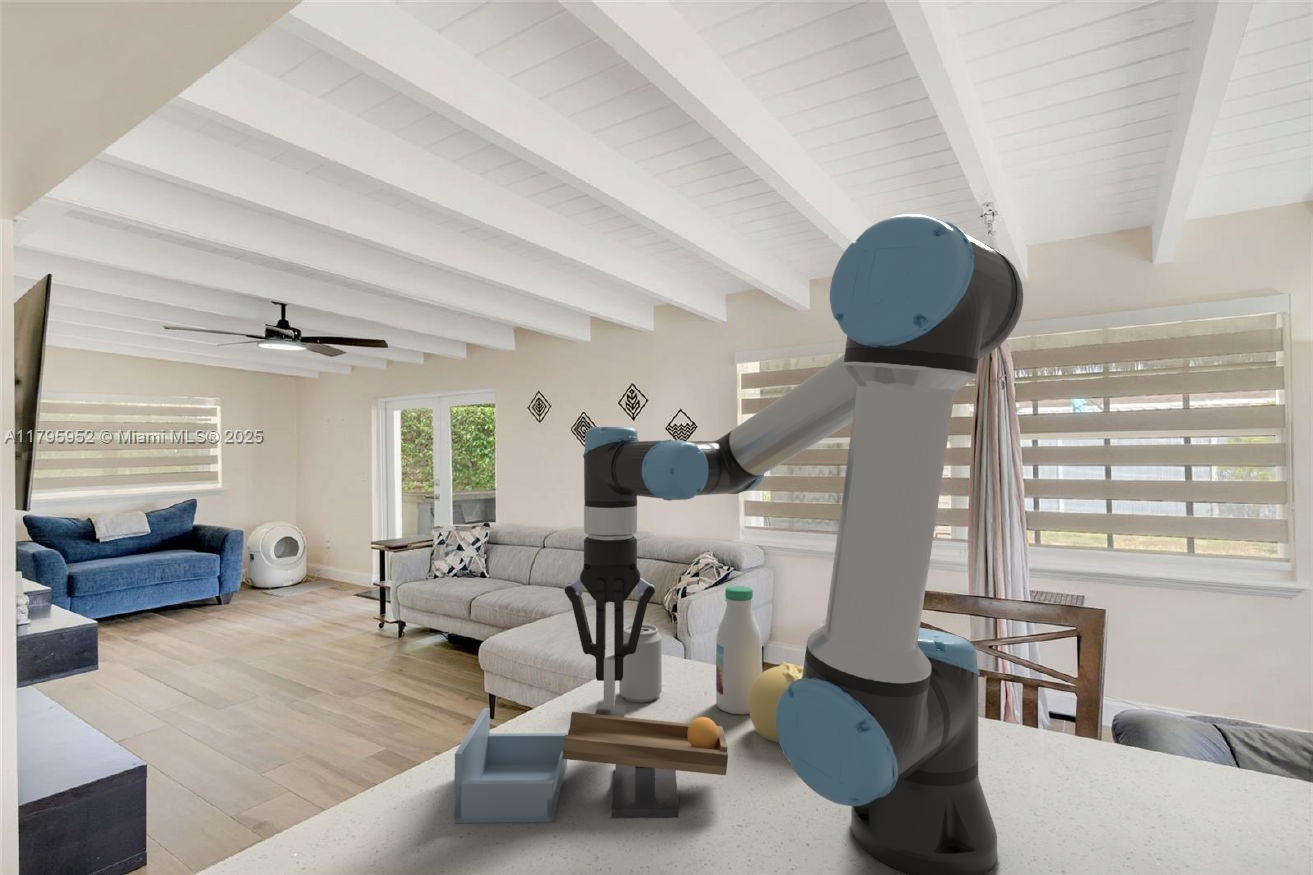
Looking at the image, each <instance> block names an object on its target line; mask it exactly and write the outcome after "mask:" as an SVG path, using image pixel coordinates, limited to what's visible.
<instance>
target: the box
mask: <svg viewBox="0 0 1313 875" xmlns="http://www.w3.org/2000/svg"><path fill="white" fill-rule="evenodd" d="M490 713H491V708H490V707H484V708H482V710H481V712H479V715H478V717H477V718H476V720H475V721H474V722H473V725H472V726H471V728H470V729H469V731H468V733H467V734H466V736H465V737H464V738H463V740H462V741H461V743H460V745H459V746H458V748H457V750H455V753H454V818H453V819H454V820H453V821H454V824H479V823H480V824H489V823H490V824H491V823H492V824H494V823H495V824H498V823H502V824H504V823H510V824H511V823H517V824H518V823H519V824H520V823H522V824H523V823H530V824H531V823H535V824H536V823H553V821H554V818H555V813H556V810H557V806H558V802H559V798H560V795H561V790H562V787H563V783H564V779H565V775H566V772H567V771H566V770H567V769H568V768H567V767H568V759H562V755H563V746H564V738H565V735H568V732H567V733H566V732H562V733H561V732H560V733H559V732H551V733H550V732H548V733H546V732H545V733H543V732H542V733H540V732H537V733H533V732H532V733H530V732H529V733H528V732H527V733H526V732H525V733H521V732H520V733H518V732H517V733H514V732H513V733H507V732H505V733H502V732H501V733H491V732H490V731H491V730H490V728H491V727H490V726H491V724H490V723H491V717H490V716H491V714H490Z"/></svg>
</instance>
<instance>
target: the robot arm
mask: <svg viewBox="0 0 1313 875" xmlns="http://www.w3.org/2000/svg"><path fill="white" fill-rule="evenodd" d="M829 288H830V289H829V303H830V304H829V305H830V310H831V313H832V316H833V318H834V319H835V320H836V321H837V324H838V325H839V329H841V331H842V332H843V334H845V335H846V342H845V349H844V350H845V351H844V354H843V355H841V356H840V357H838V358H836V359H835V360H834V361H832V362H831V363H829V364H828V365H826V366H825V367H823V368H822V369H821V370H819V371H817V372H816V373H815V374H813V375H811V376H810V377H808V378H807V379H806V380H804V381H802V382H801V383H799V384H798V385H797V386H795V387H794V388H793V389H791V390H789V391H788V392H786V393H784V395H782V396H780V397H778V398H777V399H775V401H772V402H771V403H770V404H769V405H767V406H766V407H764V408H762V409H761V410H760V411H758V412H757V413H755V414H754V415H753V416H751V417H750V418H748V419H747V420H745V421H743V422H742V423H740V424H739V425H737V426H736V427H735V428H734V429H732V430H730V431H729V432H728V433H726V434H724V435H723V436H721V437H719V438H718V439H715V440H711V441H709V440H706V441H705V440H702V441H701V440H697V441H694V440H692V441H691V440H680V439H674V440H673V439H665V440H643V441H642V440H641V441H640V440H639V439H638V438H639V436H638V432H637V429H636V428H634V427H631V426H592V427H590V428H589V429H587V431H586V433H585V437H584V452H583V454H582V457H583V476H584V477H583V480H584V481H583V482H584V483H583V485H584V486H583V487H584V488H583V490H584V493H583V496H584V497H583V498H584V505H583V532H584V534H586V535H587V536H586V537H585V538H584V539H583V568H582V570H581V572H580V575H579V578H578V579H577V580H575V581H573V582H568V583H567V584H566V586H565V588H564V593H565V594H566V597H567V598H568V600H569V601H570V603H571V606H572V610H573V615H574V618H575V622H576V627H577V631H578V635H579V639H580V644H581V649H582V651H583V654H585V655H590V656H593V657H594V658H595V679H596V681H598V682H602V681H603V703H604V707H614V705H615V704H616V682H617V681H618V682H619V681H622V678H623V659H624V657H625V656H626V655H629V654H634V653H635V651H636V648H637V644H638V640H639V636H640V632H641V627H642V624H644V619H645V616H646V610H647V606H648V603H649V602H650V600H651V599H652V597H653V596H654V594H655V591H656V587H655V584H654V583H652V582H647V581H646V580H645V579H643V578H642V577H641V573H640V571H639V569H638V539H637V538H636V537H635V536H634V535H635V534H636V533H637V531H638V497H643V498H644V497H647V498H653V499H662V500H664V501H670V502H671V501H685V500H690V499H693V498H694V497H697V496H705V495H706V496H707V495H709V496H711V495H726V494H728V495H738V494H741V493H744V492H748V491H752V490H754V489H756V487H758V486H759V485H760V484H761V482H762V480H763V478H764V476H765V474H767V473H768V472H769V471H771V470H773V469H775V468H776V467H778V466H780V465H781V464H783V463H785V462H786V461H788V460H790V459H791V458H793V457H795V456H796V455H799V454H801V453H802V452H804V451H805V450H807V449H809V448H811V447H812V446H814V445H816V444H818V443H820V442H821V441H823V440H825V439H826V438H828V437H830V436H832V434H834V433H836V432H838V431H840V430H842V429H843V428H845V427H847V426H849V425H850V424H851V429H850V430H851V431H850V439H849V447H848V454H847V459H846V460H847V461H846V468H845V475H844V476H845V477H844V483H843V490H842V498H841V506H840V514H839V522H838V527H837V537H836V541H835V542H836V543H835V551H834V558H833V564H832V565H833V566H832V572H831V581H830V588H829V594H828V602H827V611H826V617H825V623H824V625H822V626H820V627H819V628H817V629H815V631H813V632H811V633H810V634H809V635H808V637H807V640H806V647H805V654H804V655H805V656H804V662H803V667H804V668H803V675H802V678H801V679H797V680H796V681H795V682H793V683H792V684H790V685H789V686H788V687H787V689H786V690H785V691H784V692H783V693H782V695H781V696H780V699H779V701H778V704H777V708H776V716H775V721H776V730H777V735H778V739H779V742H778V743H779V744H780V747H781V750H782V752H783V754H784V756H785V757H786V758H787V759H788V761H789V762H790V764H791V768H792V770H793V771H794V773H795V774H796V775H797V776H798V777H799V779H800V780H802V781H803V783H804V784H805V785H806V786H807V787H808V788H809V789H811V791H813V792H815V793H816V794H817V795H819V796H820V797H821V798H823V799H826V800H828V801H829V802H832V803H834V804H838V805H842V806H847V807H851V815H850V816H851V818H850V819H851V821H850V823H851V826H850V827H851V831H852V834H853V836H854V839H855V840H856V841H857V843H858V844H859V845H860V846H861V848H863V849H864V850H865V851H866V852H867V853H868V854H870V855H871V856H873V858H875V859H877V860H879V861H880V862H882V863H884V864H886V865H888V866H890V867H891V868H893V869H896V870H899V871H901V872H904V873H908V874H910V875H984V874H986V873H988V872H989V871H990V870H991V869H992V868H993V867H995V865H996V863H997V860H998V835H997V834H998V833H997V829H996V826H995V824H994V820H993V817H992V815H991V811H990V809H989V808H990V807H989V805H988V802H987V799H986V797H985V794H984V789H983V788H982V784H981V781H980V776H979V677H980V674H981V672H980V670H979V669H978V668H979V666H978V655H977V650H976V648H975V646H974V645H973V643H971V642H970V641H969V640H968V639H965V638H964V637H961V636H958V635H955V634H953V633H948V632H944V631H941V630H934V629H930V628H923V627H921V620H922V614H923V608H924V601H925V596H926V589H927V581H928V574H929V568H930V560H931V553H932V547H933V543H934V542H933V541H934V535H935V527H936V521H937V520H936V519H937V515H938V508H939V502H940V494H941V488H942V487H941V486H942V481H943V474H944V468H945V460H946V454H947V449H948V448H947V447H948V440H949V435H950V428H951V420H952V416H953V415H952V414H953V413H952V412H953V408H954V401H955V395H957V393H958V392H959V391H960V390H961V389H962V388H964V387H965V386H966V385H968V384H969V383H971V382H973V380H975V379H976V377H977V374H978V373H977V372H978V366H979V361H981V359H983V358H984V357H986V356H988V355H989V354H991V353H992V352H993V351H995V350H996V349H997V348H999V347H1000V346H1001V345H1002V344H1003V343H1004V342H1005V341H1006V340H1007V339H1008V337H1009V336H1010V335H1011V334H1012V332H1013V330H1015V328H1016V325H1017V323H1018V321H1019V319H1020V318H1021V314H1022V310H1023V305H1024V288H1023V284H1022V280H1021V277H1020V275H1019V272H1018V270H1017V268H1016V267H1015V264H1013V263H1012V262H1011V260H1009V258H1008V257H1006V256H1005V255H1004V254H1003V253H1001V251H998V250H997V249H994V248H993V247H992V246H990V245H987V244H984V243H982V242H980V241H979V240H976V239H975V238H973V237H972V236H969V235H967V234H965V232H964V231H963V230H962V229H961V228H959V227H958V226H956V225H955V224H953V223H951V222H949V221H945V220H942V219H937V218H934V217H930V216H927V215H923V214H913V213H911V214H910V213H907V214H899V215H895V216H891V217H888V218H886V219H882V220H880V221H878V222H877V223H876V222H875V224H872V225H871V226H870V227H868V228H867V229H866V230H864V231H863V232H862V233H861V234H860V236H858V237H857V239H856V240H855V241H852V242H851V243H850V244H849V245H848V247H847V248H846V249H845V251H844V252H843V253H842V254H841V257H840V259H839V260H838V262H837V264H836V267H835V268H834V271H833V274H832V278H831V281H830V287H829ZM583 586H584V588H585V590H587V593H588V594H589V595H590V597H591V598H592V599H593V600H594V601H595V643H594V642H593V638H592V635H591V634H592V633H591V629H590V625H589V621H588V616H587V612H586V609H585V604H584V601H583V600H584V599H583V597H582V595H583V592H584V589H583ZM636 587H638V589H637V596H639V597H638V602H637V606H636V609H635V613H634V617H633V622H632V624H631V625H632V629H631V633H630V637H629V641H628V643H626V644H624V628H625V625H624V624H625V623H624V622H625V621H624V620H625V617H624V616H625V614H624V613H625V610H624V609H625V600H627V599H628V598H629V596H630V595H631V593H632V592H633V591H634V590H635V588H636ZM608 602H610V603H613V606H614V607H613V609H614V610H613V612H614V617H613V618H614V620H613V621H614V624H613V625H614V634H613V635H614V636H613V637H614V644H613V646H614V649H613V650H614V653H606V649H607V648H606V646H607V645H606V642H607V641H606V639H607V638H606V637H607V636H606V634H607V633H606V630H607V629H606V627H607V625H606V624H607V622H606V621H607V620H606V619H607V616H606V615H607V603H608Z"/></svg>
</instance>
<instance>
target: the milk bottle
mask: <svg viewBox="0 0 1313 875" xmlns="http://www.w3.org/2000/svg"><path fill="white" fill-rule="evenodd" d="M753 592H754V591H753V589H752V588H751V587H749V586H744V585H732V586H727V587H726V588H725V592H724V593H725V594H724V596H725V602H726V608H725V611H724V614H723V616H722V619H721V622H720V623H719V627H718V629H717V633H716V654H715V656H716V657H715V659H716V660H715V668H716V669H715V670H716V671H715V676H716V678H715V682H716V683H715V690H716V691H715V694H716V695H715V697H716V698H715V702H716V706H717V707H718V709H720V710H721V711H723V712H726V713H728V714H734V715H750V712H749V695H750V691H751V688H752V685H753V683H754V682H755V680H756V679H757V677H758V676H759V675H760V674H762V673H763V647H762V646H763V645H762V644H763V642H762V635H761V631H760V627H759V625H758V622H757V619H756V618H755V616H754V612H753V608H752V602H753V598H754V597H753V596H754V595H753V594H754V593H753Z"/></svg>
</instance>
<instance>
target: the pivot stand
mask: <svg viewBox="0 0 1313 875" xmlns="http://www.w3.org/2000/svg"><path fill="white" fill-rule="evenodd" d="M676 771H677V770H667V769H658V768H648V767H638V766H628V765H618V764H615V771H614V779H613V789H612V797H611V808H610V819H678V818H679V817H680V816H679V813H680V810H679V807H680V806H679V797H678V796H679V795H678V784H677V773H676Z"/></svg>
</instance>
